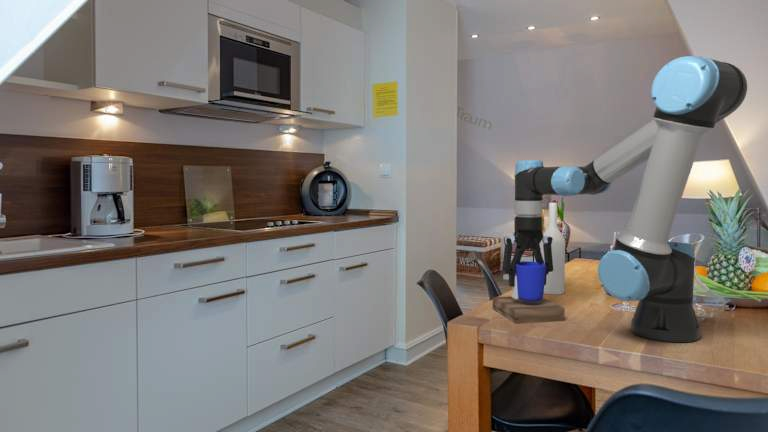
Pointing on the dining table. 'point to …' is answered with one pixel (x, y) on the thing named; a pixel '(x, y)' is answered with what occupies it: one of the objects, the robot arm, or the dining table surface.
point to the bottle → (555, 255)
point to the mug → (530, 280)
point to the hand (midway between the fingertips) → (527, 297)
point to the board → (528, 310)
